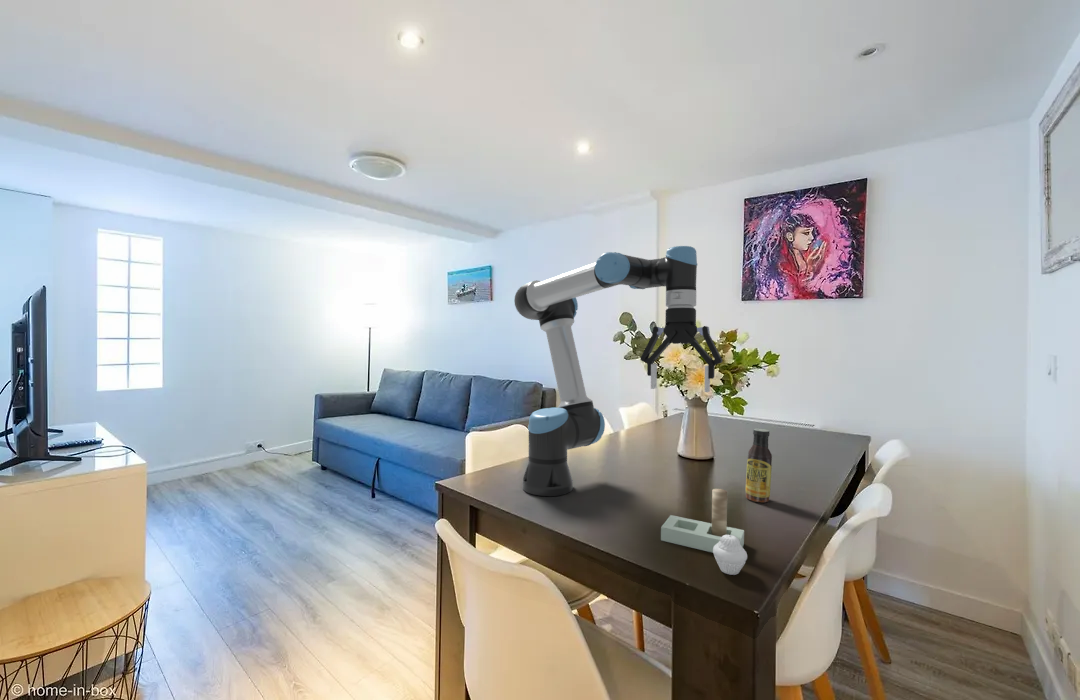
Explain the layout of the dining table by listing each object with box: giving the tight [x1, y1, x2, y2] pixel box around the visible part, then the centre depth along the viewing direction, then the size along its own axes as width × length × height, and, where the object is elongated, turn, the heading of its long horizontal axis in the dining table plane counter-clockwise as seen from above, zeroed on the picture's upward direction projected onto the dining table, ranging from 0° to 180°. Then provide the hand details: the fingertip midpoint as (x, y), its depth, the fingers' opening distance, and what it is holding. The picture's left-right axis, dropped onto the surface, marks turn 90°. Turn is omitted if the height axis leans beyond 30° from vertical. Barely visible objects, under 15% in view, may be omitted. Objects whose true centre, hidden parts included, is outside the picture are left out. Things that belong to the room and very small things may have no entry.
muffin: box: [713, 535, 748, 576], centre depth 86 cm, size 6×6×7 cm
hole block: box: [660, 514, 745, 554], centre depth 99 cm, size 16×8×3 cm, turn 59°
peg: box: [711, 488, 728, 537], centre depth 97 cm, size 3×3×12 cm
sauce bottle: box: [745, 428, 773, 504], centre depth 125 cm, size 7×6×20 cm
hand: (679, 390), depth 116 cm, fingers open, 13 cm apart
